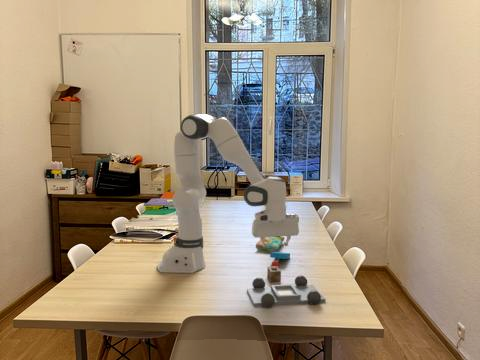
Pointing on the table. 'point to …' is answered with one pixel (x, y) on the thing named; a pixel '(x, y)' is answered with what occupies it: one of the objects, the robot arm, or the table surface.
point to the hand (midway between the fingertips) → (275, 246)
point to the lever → (278, 257)
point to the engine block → (274, 274)
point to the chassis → (284, 293)
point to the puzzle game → (270, 244)
